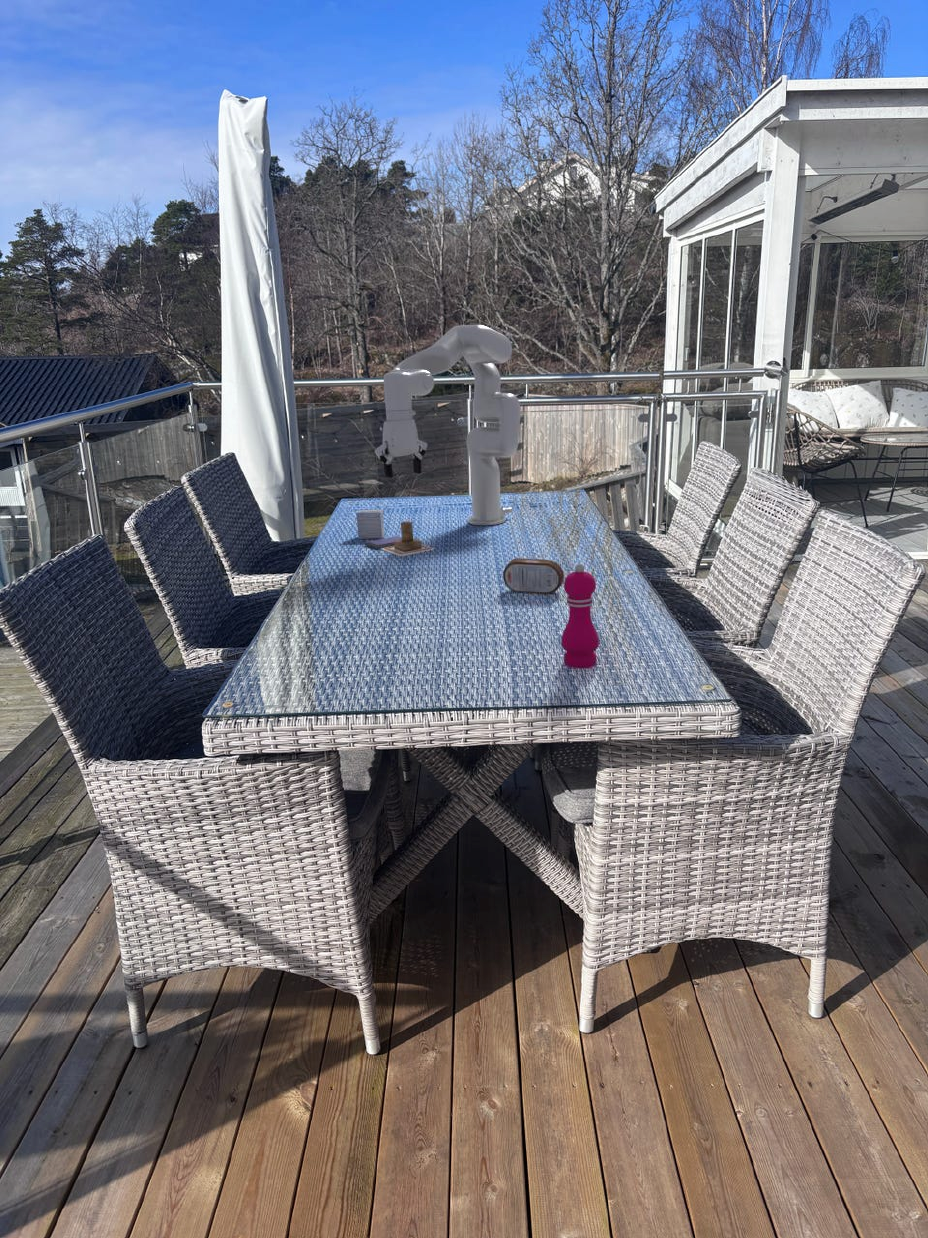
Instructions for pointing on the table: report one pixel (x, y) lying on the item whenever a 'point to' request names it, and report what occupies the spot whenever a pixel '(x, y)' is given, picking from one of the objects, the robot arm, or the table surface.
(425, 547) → the cream card
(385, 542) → the ink pad
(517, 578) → the tin
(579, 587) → the pepper mill
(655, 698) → the table surface
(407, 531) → the stamp
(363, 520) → the medicine box
